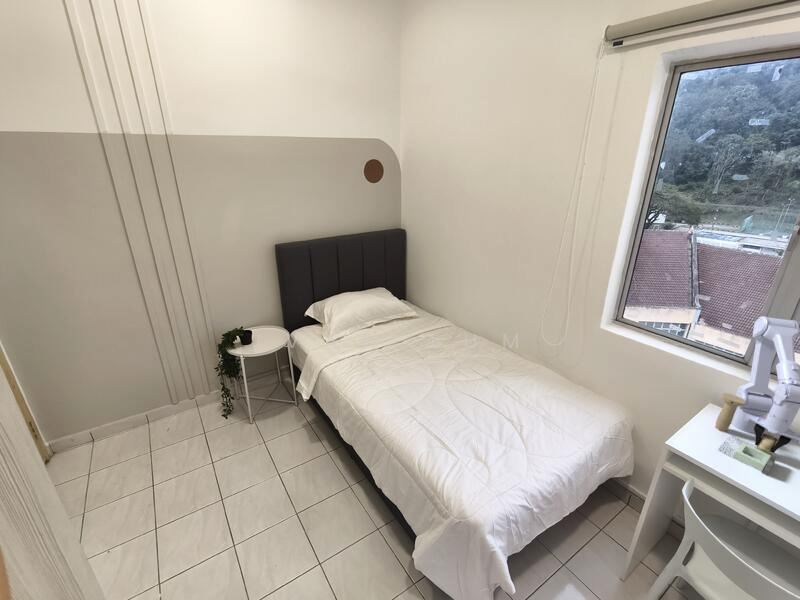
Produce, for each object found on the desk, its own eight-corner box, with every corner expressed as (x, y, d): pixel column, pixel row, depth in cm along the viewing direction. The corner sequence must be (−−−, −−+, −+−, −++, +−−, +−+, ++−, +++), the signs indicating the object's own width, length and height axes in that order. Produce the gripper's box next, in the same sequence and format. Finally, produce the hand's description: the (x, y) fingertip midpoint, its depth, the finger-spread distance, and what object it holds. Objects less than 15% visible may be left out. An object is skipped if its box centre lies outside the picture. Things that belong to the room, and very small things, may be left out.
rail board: (729, 436, 136) (734, 425, 134) (776, 458, 126) (782, 447, 125) (716, 452, 129) (721, 441, 127) (765, 477, 119) (771, 466, 117)
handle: (729, 438, 135) (744, 405, 129) (707, 429, 139) (721, 396, 134) (731, 432, 138) (746, 399, 132) (710, 423, 143) (724, 391, 137)
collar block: (740, 447, 130) (742, 442, 129) (767, 461, 124) (770, 455, 123) (733, 456, 126) (735, 451, 125) (761, 471, 120) (764, 465, 119)
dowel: (756, 447, 130) (764, 432, 127) (770, 454, 127) (778, 438, 124) (753, 452, 128) (761, 436, 125) (767, 458, 125) (775, 442, 122)
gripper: (749, 408, 125) (734, 439, 130) (809, 433, 114) (790, 466, 119) (755, 401, 128) (740, 431, 134) (814, 425, 118) (796, 457, 123)
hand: (764, 447), depth 127 cm, fingers closed on dowel, 4 cm apart
